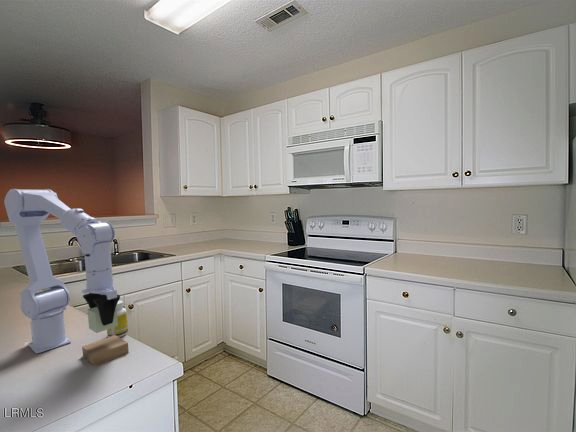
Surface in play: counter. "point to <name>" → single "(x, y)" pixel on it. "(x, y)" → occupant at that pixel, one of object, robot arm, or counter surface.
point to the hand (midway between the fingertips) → (103, 321)
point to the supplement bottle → (119, 322)
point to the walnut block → (105, 350)
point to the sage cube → (99, 320)
